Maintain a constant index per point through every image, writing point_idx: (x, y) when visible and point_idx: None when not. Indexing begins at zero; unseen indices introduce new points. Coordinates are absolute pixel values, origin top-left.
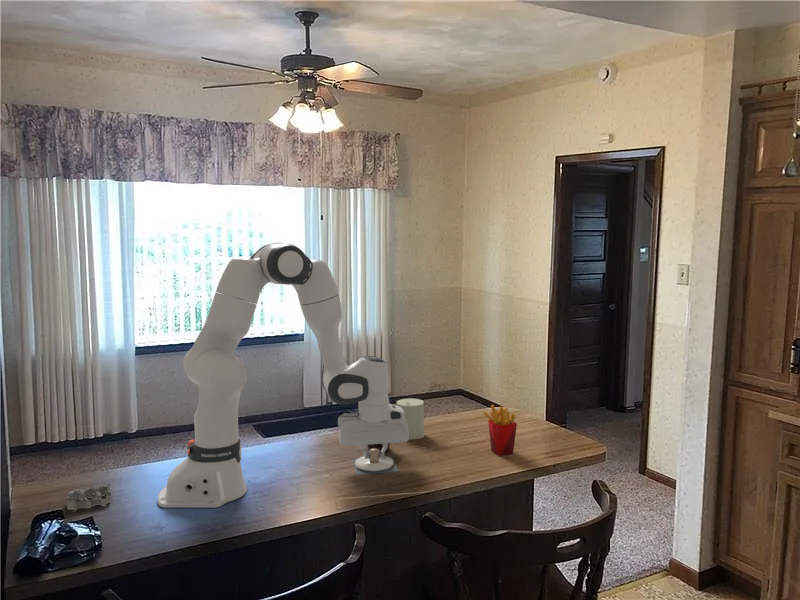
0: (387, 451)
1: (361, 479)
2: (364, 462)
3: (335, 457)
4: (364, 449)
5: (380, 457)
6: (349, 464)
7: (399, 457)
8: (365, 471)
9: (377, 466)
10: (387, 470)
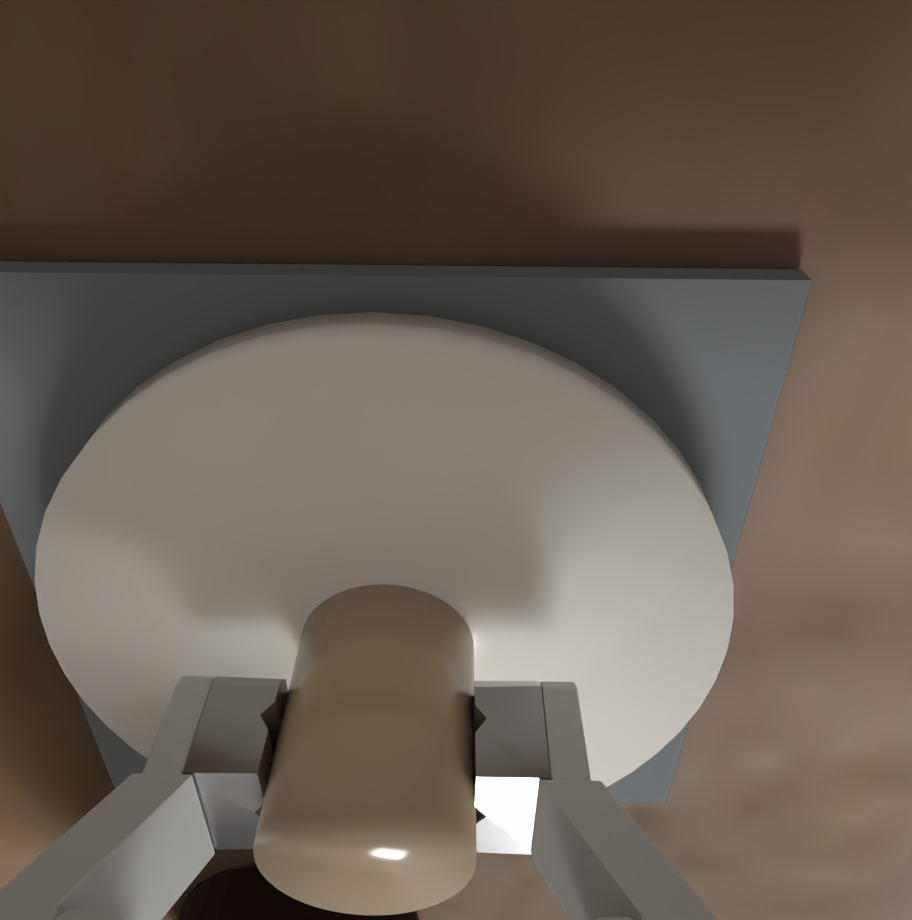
0: (190, 903)
1: (765, 42)
2: (567, 638)
3: (833, 871)
4: (618, 875)
5: (254, 682)
6: (742, 700)
7: (25, 779)
8: None
9: (343, 441)
10: (154, 363)
